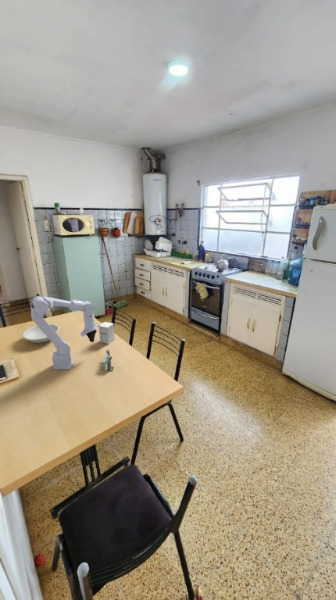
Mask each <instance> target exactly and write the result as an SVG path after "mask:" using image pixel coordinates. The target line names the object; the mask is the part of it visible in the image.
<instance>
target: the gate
mask: <svg viewBox="0 0 336 600" xmlns="http://www.w3.org/2000/svg"><path fill="white" fill-rule="evenodd" d="M107 360H109V354H108V353H106V354H105V356H104V359H103V361H102V370H106V368H107Z"/></svg>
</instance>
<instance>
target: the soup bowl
mask: <svg viewBox="0 0 336 600" xmlns="http://www.w3.org/2000/svg"><path fill="white" fill-rule="evenodd" d="M48 324H49V325H50V326H51V328H52V329H53V330H54V331H55V332H56V333H57V334H58V333H59V332H60V330H61V327H60V326H59V325H58V324H54V323H48ZM21 337H22V338H23V340H26V341H29V342H30V343H36V344H39V343H42V344H43V343H46V342H49V341H51V340H50V339H49V338H48V337H47V336H46V335H45V333H44V332H43V331H42V330H41V329H40V328H39V327H38V325H37V324H36V325H34V326H31V327H29V328H27V329H26V330H24V331H22V334H21Z"/></svg>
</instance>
